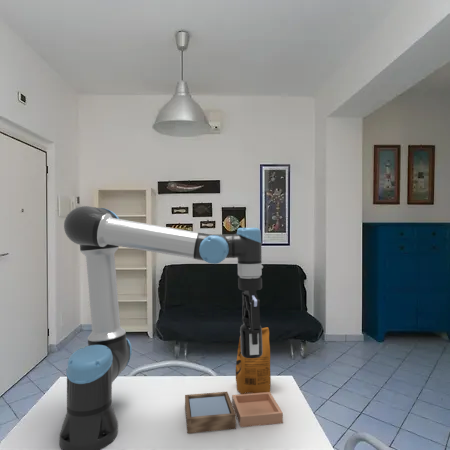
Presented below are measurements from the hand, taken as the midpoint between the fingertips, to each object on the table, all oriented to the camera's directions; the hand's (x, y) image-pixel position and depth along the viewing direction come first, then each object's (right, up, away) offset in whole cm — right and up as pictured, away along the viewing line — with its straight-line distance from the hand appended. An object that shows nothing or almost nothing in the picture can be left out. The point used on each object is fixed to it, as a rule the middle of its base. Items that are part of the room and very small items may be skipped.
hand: (251, 349), depth 105 cm
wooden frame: (-13, -20, -2) cm, 24 cm away
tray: (+2, -20, 0) cm, 20 cm away
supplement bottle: (0, -2, 0) cm, 2 cm away
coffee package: (+2, -21, +17) cm, 26 cm away
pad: (-13, -18, -2) cm, 22 cm away
